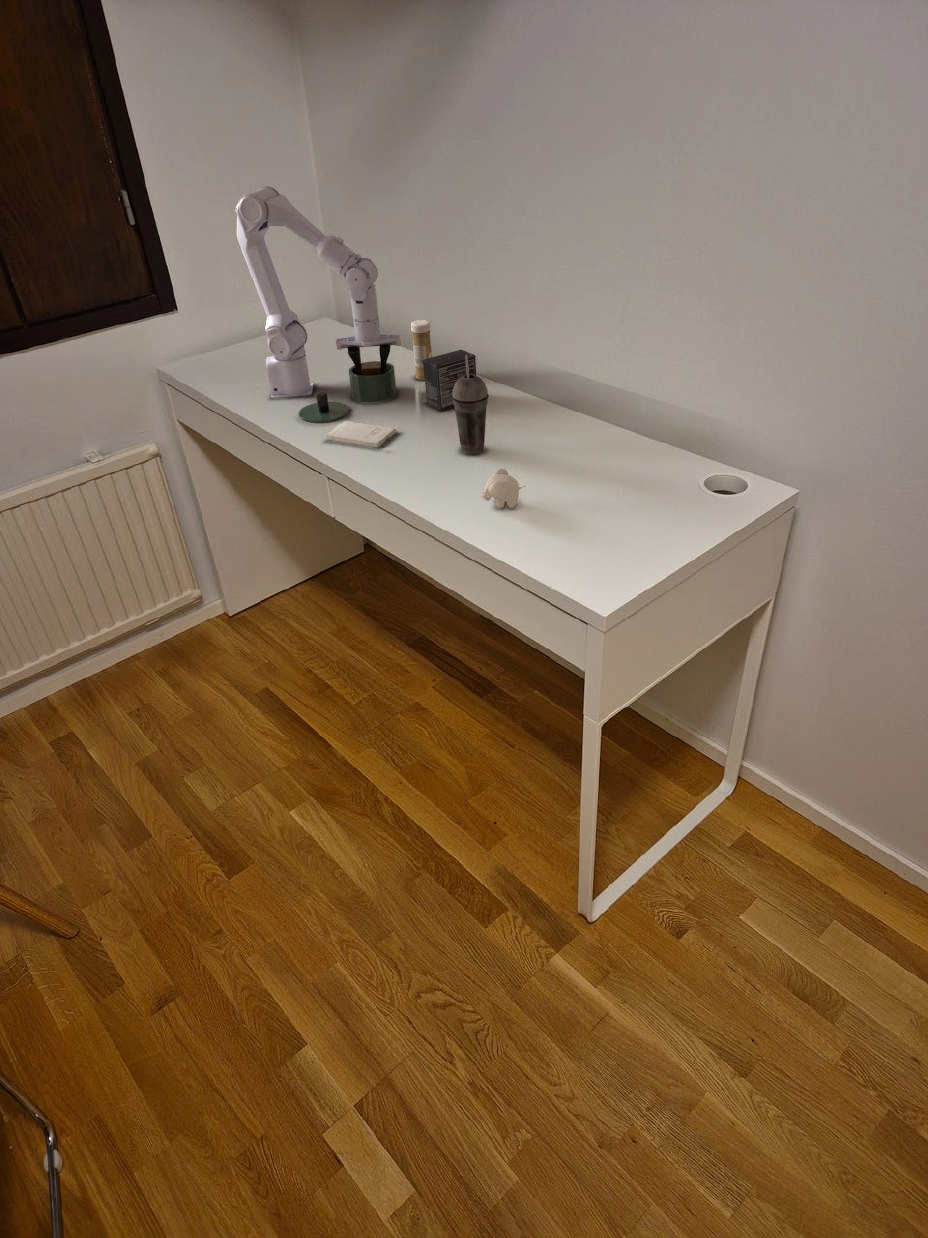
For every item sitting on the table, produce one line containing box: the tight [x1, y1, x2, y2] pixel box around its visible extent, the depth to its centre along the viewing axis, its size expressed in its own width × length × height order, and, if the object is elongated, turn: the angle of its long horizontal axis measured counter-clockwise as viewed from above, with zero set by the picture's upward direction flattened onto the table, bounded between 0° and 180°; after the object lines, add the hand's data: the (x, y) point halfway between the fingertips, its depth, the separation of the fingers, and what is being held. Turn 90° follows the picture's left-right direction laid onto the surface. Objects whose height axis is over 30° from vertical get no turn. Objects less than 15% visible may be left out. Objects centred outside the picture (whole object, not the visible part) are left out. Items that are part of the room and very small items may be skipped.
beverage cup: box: [452, 355, 490, 456], centre depth 170 cm, size 7×7×20 cm
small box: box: [423, 349, 477, 412], centre depth 194 cm, size 11×6×10 cm, turn 123°
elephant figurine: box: [481, 468, 526, 509], centre depth 154 cm, size 7×8×6 cm
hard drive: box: [325, 420, 397, 450], centre depth 183 cm, size 2×8×12 cm
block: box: [361, 361, 381, 376], centre depth 200 cm, size 4×4×4 cm
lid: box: [298, 391, 350, 424], centre depth 193 cm, size 11×11×5 cm
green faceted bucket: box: [348, 360, 397, 403], centre depth 201 cm, size 10×10×6 cm
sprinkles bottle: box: [410, 319, 433, 381], centre depth 207 cm, size 5×5×14 cm
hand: (372, 377), depth 200 cm, fingers closed on block, 4 cm apart
